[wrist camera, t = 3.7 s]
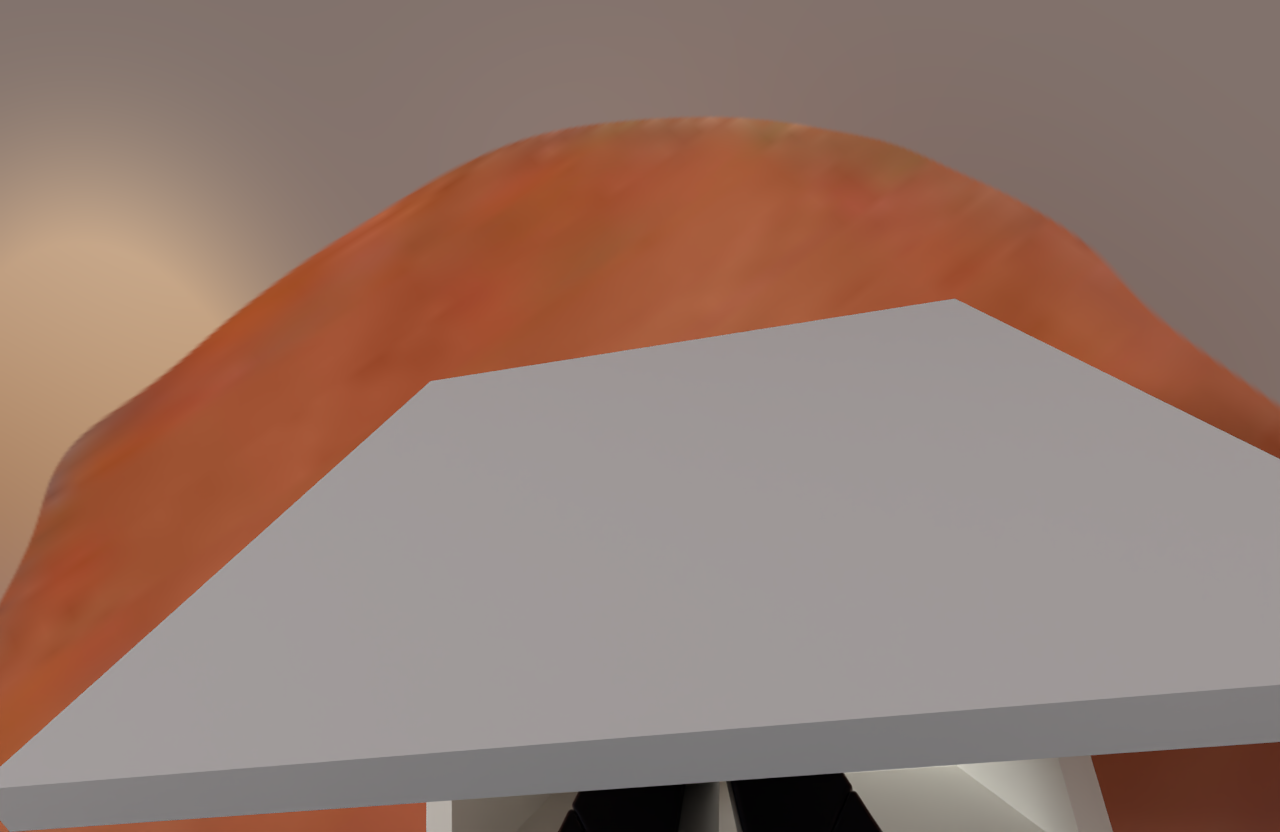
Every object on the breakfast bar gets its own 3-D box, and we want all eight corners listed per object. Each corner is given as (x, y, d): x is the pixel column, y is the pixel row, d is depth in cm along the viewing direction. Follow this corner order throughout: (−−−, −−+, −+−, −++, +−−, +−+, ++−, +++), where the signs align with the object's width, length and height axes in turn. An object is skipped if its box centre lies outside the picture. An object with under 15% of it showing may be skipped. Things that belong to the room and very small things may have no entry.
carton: (975, 781, 19) (1132, 898, 11) (541, 810, 21) (425, 930, 13) (888, 416, 23) (962, 321, 15) (526, 465, 24) (430, 402, 17)
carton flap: (1634, 717, 4) (1672, 652, 4) (10, 832, 6) (-26, 790, 6) (954, 322, 15) (954, 298, 15) (437, 401, 17) (430, 381, 16)
